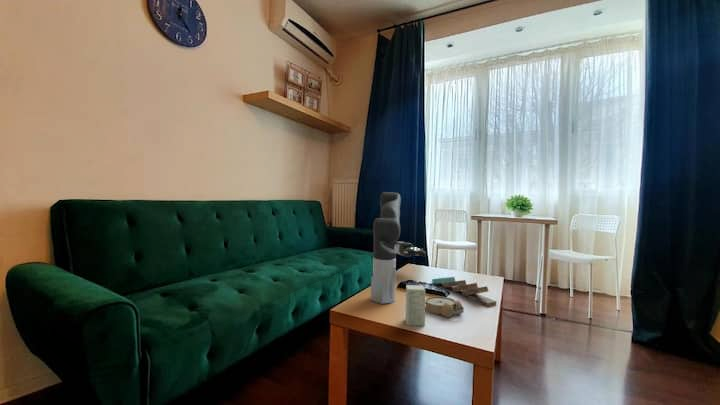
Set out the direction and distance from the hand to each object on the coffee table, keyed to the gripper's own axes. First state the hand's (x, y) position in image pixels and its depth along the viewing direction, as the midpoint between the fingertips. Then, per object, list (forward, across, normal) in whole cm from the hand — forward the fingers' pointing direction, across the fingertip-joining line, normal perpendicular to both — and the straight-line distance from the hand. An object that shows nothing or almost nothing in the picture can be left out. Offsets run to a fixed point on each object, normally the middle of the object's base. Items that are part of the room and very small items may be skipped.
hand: (425, 254), depth 142 cm
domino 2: (+18, +4, +13) cm, 22 cm away
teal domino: (+5, +4, +12) cm, 14 cm away
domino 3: (+24, +3, +12) cm, 27 cm away
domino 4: (+26, +4, +14) cm, 30 cm away
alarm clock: (+32, -18, +15) cm, 39 cm away
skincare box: (+34, -34, +15) cm, 50 cm away
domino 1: (+11, +4, +13) cm, 17 cm away
